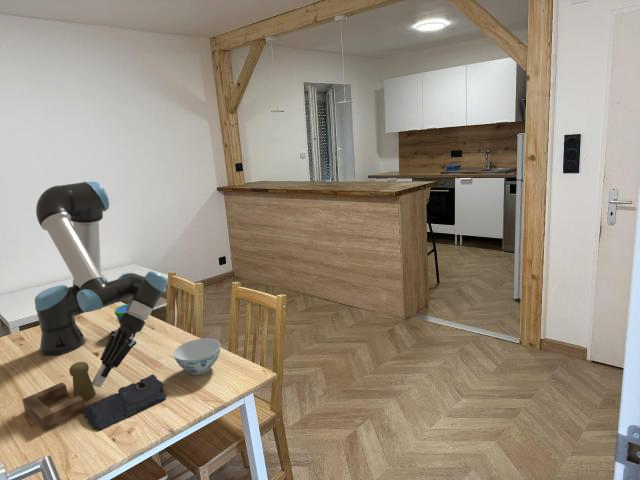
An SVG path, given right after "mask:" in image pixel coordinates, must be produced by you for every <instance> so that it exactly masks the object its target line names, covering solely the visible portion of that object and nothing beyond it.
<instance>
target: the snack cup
mask: <svg viewBox="0 0 640 480" xmlns="http://www.w3.org/2000/svg"><path fill="white" fill-rule="evenodd" d="M128 305H129V303H125V304H123V305H120V306H117V307H116V308H115V309H114V315H115V316H116V318H117V321H118V323H119V320H120V319H121V317H122V315H123V314H124V313H126V312H127V311H126V308H127V307H128ZM120 326H121V324H120V323H119V327H120Z"/></svg>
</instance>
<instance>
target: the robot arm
mask: <svg viewBox="0 0 640 480" xmlns="http://www.w3.org/2000/svg"><path fill="white" fill-rule="evenodd" d="M35 207H36V209H35V213H36V219H37V221H38V223H39V225H40V227H41V229H42V230H43V231H46V232H47V233H48V234H49V237H50V238H51V240H52V241H53V244H54V245H55V247H56V248H57V250H58V252H59V254H60V256H61V258H62V259H63V262H64V264H65V265H66V266H67V269H68V270H69V272H70V274H71V275H72V277H73V279H72V285H71V286H69V287H68V286H67V285H65V284H64V285H63V284H62V285H61V284H60V285H56V286H52V287H48V288H46V289H44V290H42V291H40V292H39V293H38V294H37V295H36V296H35V298H34V305H35V311H36V313H37V314H36V315H37V318H38V323H39V325H40V331H41V338H40V345H39V350H40V354H41V355H44V356H55V355H57V356H58V355H61V354H65V353H69V352H72V351H73V350H76V349H78V348H80V347H81V346H82V345H83V344H84V343H85V336H84V334H83V332H82V331H81V329H80V328H79V326H78V325H77V323H76V318H75V317H77V316H79V315H82V314H85V313H90V312H95V311H98V310H102V309H103V308H106V307H109V306H111V305H114V304H116V303H120V302H123V301H125V300H128V299H131V300H130V302H129V303H128V304H129V305H128V307H127V308H126V311H127V312H126V313H124V314H123V315H122V317H121V319H120V320H119V321H118V323H120V324H121V326H120V324H119V327H118V328H117V330H115V331H114V330H111V331H110V333H109V334H110V335H109V338H108V340H107V343H106V345H105V348H104V349H103V352H102V354H101V355H100V356H101V357H100V361H101V365H100V367H99V369H98V371H97V373H96V374H95V376H94V377H93V380H91V382H92V385H93V387H97V388H99V389H101V388H102V385H103V384H104V382H105V381H106V379H107V377H108V376H109V374H110V372H111V371H112V369H114V368H116V369H117V368H118V367H119V366H120V365H121V363H122V362H123V360H125V358H126V356H127V355H128V354H129V353H130V351H131V350H132V348H133V347H135V346H136V345H137V341H136V340H135V337H136V334H137V332H138V333H140V332H141V331H142V330H143V328H144V326H145V324H146V321H147V320H148V319H149V317H150V316H151V314H152V311H153V310H154V308H155V307H156V305H157V303H158V302H159V299H160V298H161V296H162V295H163V293H164V292H165V288H166V287H167V285H168V283H169V282H168V281H169V280H168V279H167V278H166V277H165V276H163V275H161V274H159V273H158V272H154V271H151V270H150V271H148V272H147V273H146V275H145V276H143V275H141V274H138V273H135V272H125V273H122V274H121V275H120V276H119V277H118V278H116V279H114V280H110V281H109V280H108V278H106V277H105V275H103V274H102V271H101V269H102V268H101V247H100V224H99V222H101V220H103V218H104V213H103V212H106V211H108V210H109V208H110V200H109V196H108V193H107V191H106V189H105V188H104V187H103V186H102V185H101V183H99V182H98V181H83V182H78V183H70V184H69V183H68V184H62V185H53V186H51V187H48V188H46V190H44V191H43V192H42V194H41V195H40V196H39V198H38V199H37V203H36V206H35Z"/></svg>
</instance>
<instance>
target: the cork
mask: <svg viewBox="0 0 640 480" xmlns="http://www.w3.org/2000/svg"><path fill="white" fill-rule="evenodd" d="M89 368H90V366H89V364H88V363H87V362H84V361H79V362H75V363H73V364H72V365H70V368H69V374H70V376H71V377H72V388H73V389H72V391H73V392H72V393H73V398H74V397H77V396H80V397H82V398H83V400H84V402H86V401H87V402H88V401H89V400H91V399H93V398H94V397H95V395H96V390H95V388H94V387H95V386H93V385H92V380H91V378H90V375H89V370H90V369H89Z"/></svg>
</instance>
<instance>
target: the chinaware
mask: <svg viewBox="0 0 640 480" xmlns="http://www.w3.org/2000/svg"><path fill="white" fill-rule="evenodd" d="M220 351H221V343H220V341H219V340H217V339H214V338H206V337H205V338H198V339H194V340H193V339H192V340H190V341H187V342H184V343H182V344H181V345H179V346H177V348H175V349H174V351H173V357H174V360H175V361H176V363H177V365H178V366H179V367H180V368H181V369H183V370H185V371H186V372H189V373H190V375H193V376H200V375H203V374H206V373H208V372H210V370H211V369H212V367H213V366H214V364H215V363H216V362H217V361H218V358H219V357H220Z"/></svg>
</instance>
